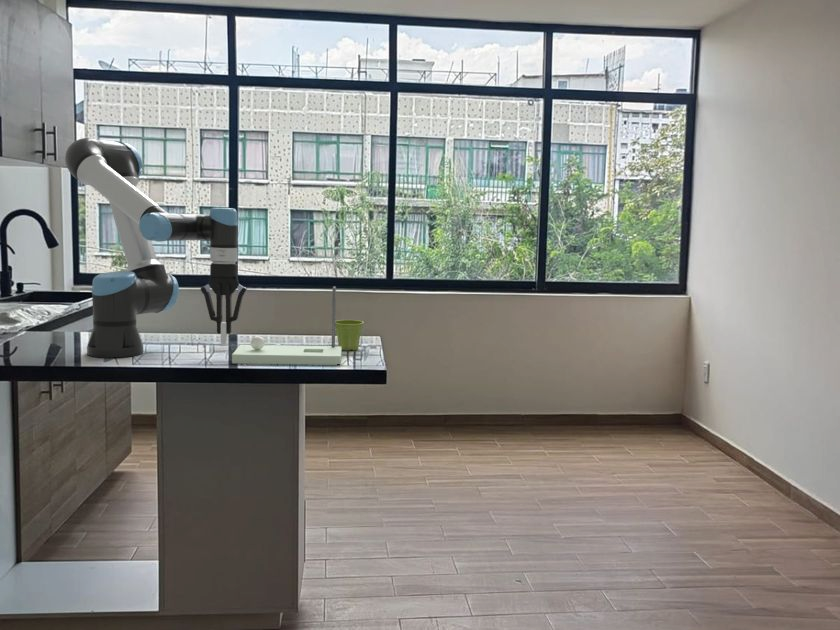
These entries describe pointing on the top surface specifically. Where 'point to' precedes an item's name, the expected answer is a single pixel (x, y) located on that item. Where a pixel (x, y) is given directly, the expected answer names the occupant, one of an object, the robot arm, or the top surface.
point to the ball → (257, 342)
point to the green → (292, 351)
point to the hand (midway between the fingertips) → (224, 344)
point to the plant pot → (348, 333)
